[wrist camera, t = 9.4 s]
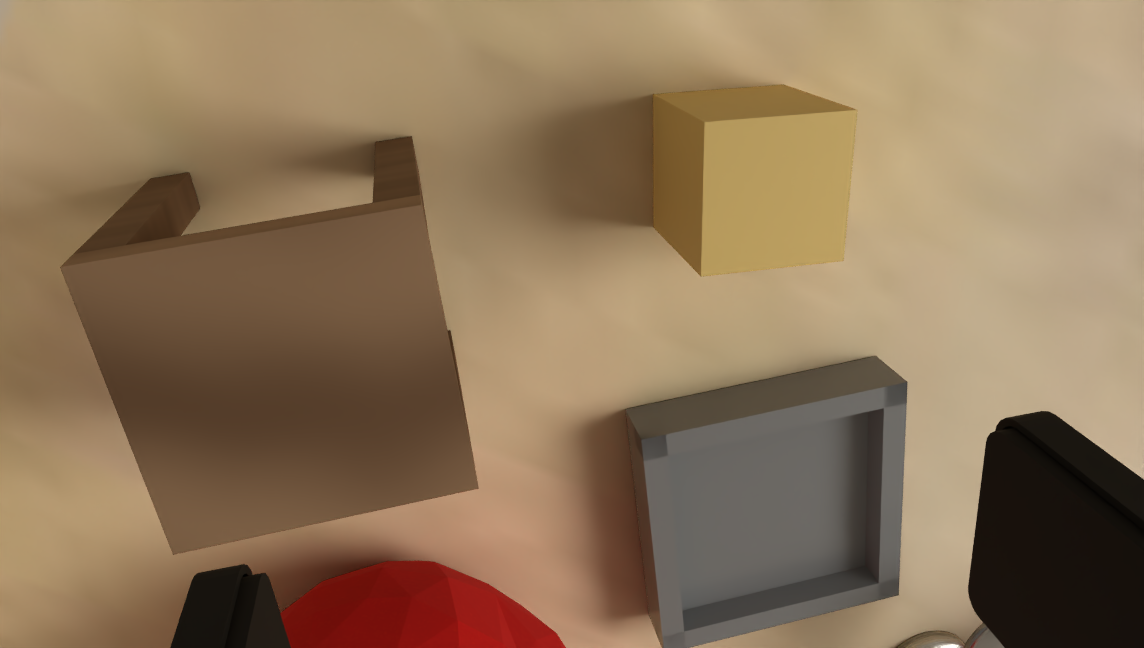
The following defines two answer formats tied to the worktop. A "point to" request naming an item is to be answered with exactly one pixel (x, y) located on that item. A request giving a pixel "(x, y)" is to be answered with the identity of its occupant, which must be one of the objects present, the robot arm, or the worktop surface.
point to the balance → (953, 640)
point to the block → (752, 177)
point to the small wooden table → (277, 358)
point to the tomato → (411, 612)
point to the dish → (770, 500)
